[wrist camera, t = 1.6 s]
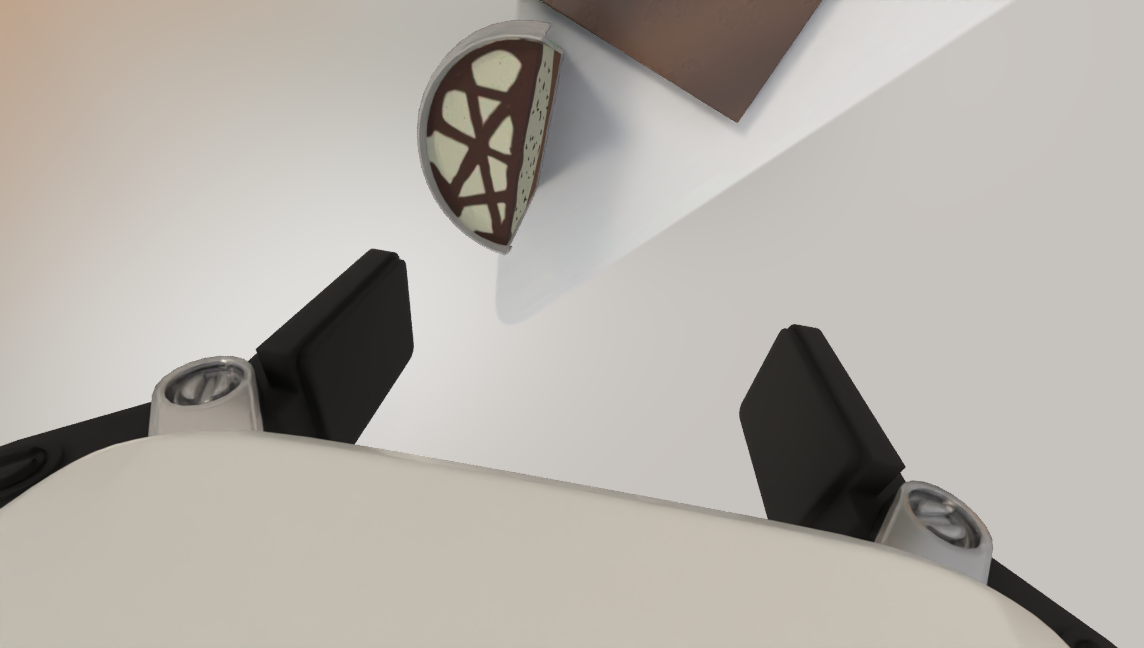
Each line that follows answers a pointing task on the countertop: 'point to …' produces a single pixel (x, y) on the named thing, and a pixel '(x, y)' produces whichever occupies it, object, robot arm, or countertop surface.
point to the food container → (489, 128)
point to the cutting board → (699, 41)
